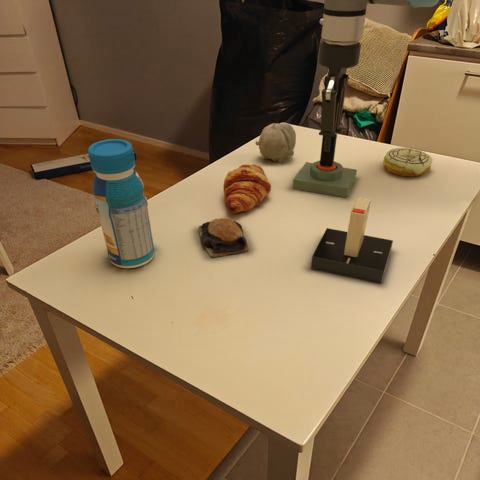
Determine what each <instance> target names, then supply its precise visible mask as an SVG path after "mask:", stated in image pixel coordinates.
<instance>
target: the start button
mask: <svg viewBox="0 0 480 480" xmlns="http://www.w3.org/2000/svg"><path fill="white" fill-rule="evenodd" d="M317 169H319V170H323V171H333V170H336V165H335V164H334V163H333V165H332V166H325V165H320V163H319V164H318V166H317Z"/></svg>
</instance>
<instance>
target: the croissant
mask: <svg viewBox="0 0 480 480" xmlns="http://www.w3.org/2000/svg"><path fill="white" fill-rule="evenodd" d="M222 185H223V195H224V201H225V207H226V208H227V209H228V211H230V212H231V213H233V214H234V213H235V214H237V213H240V212H247V211H250V210H252V209H253V208H254V207H255V206H257V205H259V204H260V203H261V202H262V201H263V200H264V198H265V197H267V196H268V195H269V194H270V192H271V190H272V183H271V181H270V180H269V178H268V177H267V175H266V173H265V170H264V169H263V168H262V166H261V165H257V164H253V163H252V164H242V165H240V166H238V167H237V168H235V169H233V170H230V171H229V172H228V171H227V173H226V176H225V177H224V181H223V184H222Z"/></svg>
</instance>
